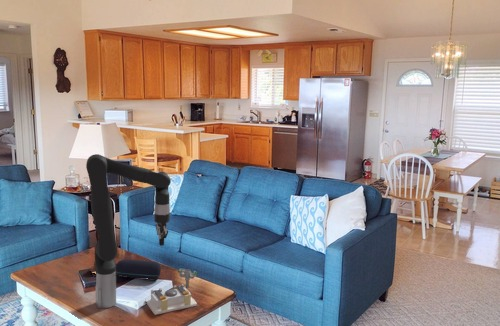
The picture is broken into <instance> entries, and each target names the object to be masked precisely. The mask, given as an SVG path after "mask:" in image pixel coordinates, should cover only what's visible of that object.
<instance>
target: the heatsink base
mask: <svg viewBox="0 0 500 326" xmlns="http://www.w3.org/2000/svg"><path fill="white" fill-rule="evenodd" d="M177 286H178V285H173V288H172V289H167V290H163V289H162V288H161V287H160V288H158V290H159V291H160V292H161V293H162V295H163V296H164V295H165V297H166V299H164V300H160V299H159V297H158V296H157V295H156V294H155V293H154V291H155V290H154V289H151V290H150V298H151V299H150V300H148V301H147V303H146V304H147V306H148V307H149V309H150V311H151V312H152V314H154V316H156V315H160V314H165V313H169V312H173V311H178V310H179V311H180V310H183V309H187V308H188V309H189V308H192V307H196V306H197V307H198V303H197V302H196V300H195V299H194V298H193V297H192V294H191V292H190V290H188V288H186V286H185V284H184V283H181V286H182V287H183V288H184V289H185V290H186V291H188V292H189V294H188V295H185V296H184V295H183V294H182V293H181V292H180V291H179V290H178V289H177Z"/></svg>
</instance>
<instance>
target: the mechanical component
mask: <svg viewBox="0 0 500 326" xmlns="http://www.w3.org/2000/svg"><path fill="white" fill-rule="evenodd" d="M177 272H178V274H179V277H180V278H183V279H184V281H185V288H186V289H188V288H189V287H190V286H189V284H190V283H189V282H190V280H193V279H194V278H195V277H196V276H197V275H198V271H196V270H193V272H192V271H191V269H188V268H179V269H178V270H177Z"/></svg>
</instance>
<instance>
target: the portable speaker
mask: <svg viewBox="0 0 500 326" xmlns="http://www.w3.org/2000/svg"><path fill="white" fill-rule="evenodd" d="M161 272H162V267H161V263H159V262H157V261H153V260H143V259H142V260H141V259H130V258H126V259H125V258H124V259H121V260H119V261H118V262H117V263H116V275H117V274H118V275H122V276H127V277H131V279H138V278H148V279H147V280H150V279H155V280H158V279H159V277H160V276H161ZM118 275H117V276H118ZM127 277H126V278H127Z"/></svg>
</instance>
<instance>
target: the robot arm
mask: <svg viewBox="0 0 500 326" xmlns="http://www.w3.org/2000/svg"><path fill="white" fill-rule="evenodd" d="M85 165H86V170H87V171H86V172H87V175H88V179H89V183H90V184H89V185H90V206H91V207H90V208H91V215H92V219H93V223H94V226H95V229H96V233H97V238H98V240H97V241H96V243H95V246H94V262H95V265H96V274H95V275H96V277H95V279H96V282H95V283H96V284H95V287H94V288H95V305H96V307H97V308H98V309H101V308H102V309H106V308H107V309H108V308H112V307H114V306H115V305H116V304H117V273H116V266H117V263H116V261H115V258H116V256H117V254H118V245H117V240H116V237H115V232H114V218H113V217H114V216H113V214H114V213H113V204H112V198H111V195H110V191H109V187H108V186H109V185H108V174H113V175H116V176H120V177H122V178H125V179H127V180H130V181H133V182H137V183H142V184H143V183H144V184H148V185H151V186H153V187H154V191H155V196H154V209H153V212H154V216H153V217H154V218H153V220H154V222H155V223H156V224H155V229H156V234H157V235H156V236H158V245H159V246H161V247H162V246H164V245H165V239H167V237H168V235H169V230H167V229H168V225H167V224H168V223H169V222H170V221H171V220H170V214H171V213H170V211H171V209H170V208H171V207H170V192H169V186H170V185H171V177H170V175H168V173H167V172H165V171H158V172H156V171H152V170H151V169H149V168H145V167H142V166H141V167H140V166H136V165H132V164H128V163H123V162H120V161H117V160H114V159H112V158H109V157H106V156H103V155H101V154H92V155H90V156H89V157H88V158H87V160H86V164H85Z"/></svg>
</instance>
